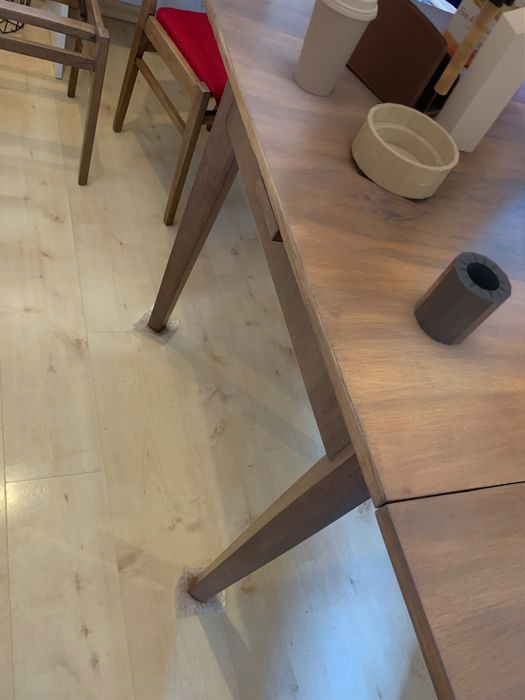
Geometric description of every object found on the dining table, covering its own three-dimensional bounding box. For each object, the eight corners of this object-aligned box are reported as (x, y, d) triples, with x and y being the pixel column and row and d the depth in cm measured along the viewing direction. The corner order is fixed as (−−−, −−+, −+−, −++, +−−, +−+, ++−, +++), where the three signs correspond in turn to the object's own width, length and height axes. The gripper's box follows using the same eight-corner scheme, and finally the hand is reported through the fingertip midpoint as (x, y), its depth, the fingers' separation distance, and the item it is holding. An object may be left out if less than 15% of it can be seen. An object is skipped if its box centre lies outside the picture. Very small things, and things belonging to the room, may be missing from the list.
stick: (446, 91, 74) (541, -60, 60) (445, 97, 73) (541, -55, 59) (434, 85, 74) (526, -68, 60) (433, 90, 73) (526, -64, 59)
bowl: (440, 166, 89) (463, 134, 84) (429, 217, 80) (454, 184, 75) (360, 124, 88) (378, 90, 83) (340, 172, 79) (358, 136, 74)
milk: (441, 146, 92) (531, 10, 75) (431, 124, 96) (516, -11, 78) (471, 153, 94) (567, 22, 77) (461, 131, 97) (550, 1, 80)
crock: (465, 316, 70) (512, 269, 63) (460, 358, 65) (510, 312, 58) (416, 292, 70) (457, 242, 63) (407, 332, 65) (451, 283, 58)
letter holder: (402, 123, 93) (450, 39, 82) (331, 51, 99) (367, -35, 88) (438, 116, 98) (488, 37, 87) (368, 49, 104) (407, -33, 93)
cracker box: (434, 47, 114) (499, -68, 98) (444, 40, 118) (508, -72, 102) (491, 85, 113) (567, -26, 96) (499, 77, 116) (573, -31, 100)
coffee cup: (331, 110, 88) (375, 13, 76) (277, 81, 87) (313, -21, 76) (345, 85, 94) (389, -9, 82) (295, 58, 93) (331, -40, 82)
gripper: (666, -289, 52) (502, -20, 70) (608, -337, 43) (439, -16, 62) (735, -253, 50) (547, 15, 68) (688, -296, 41) (488, 23, 60)
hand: (496, 0), depth 65 cm, fingers closed on stick, 2 cm apart
